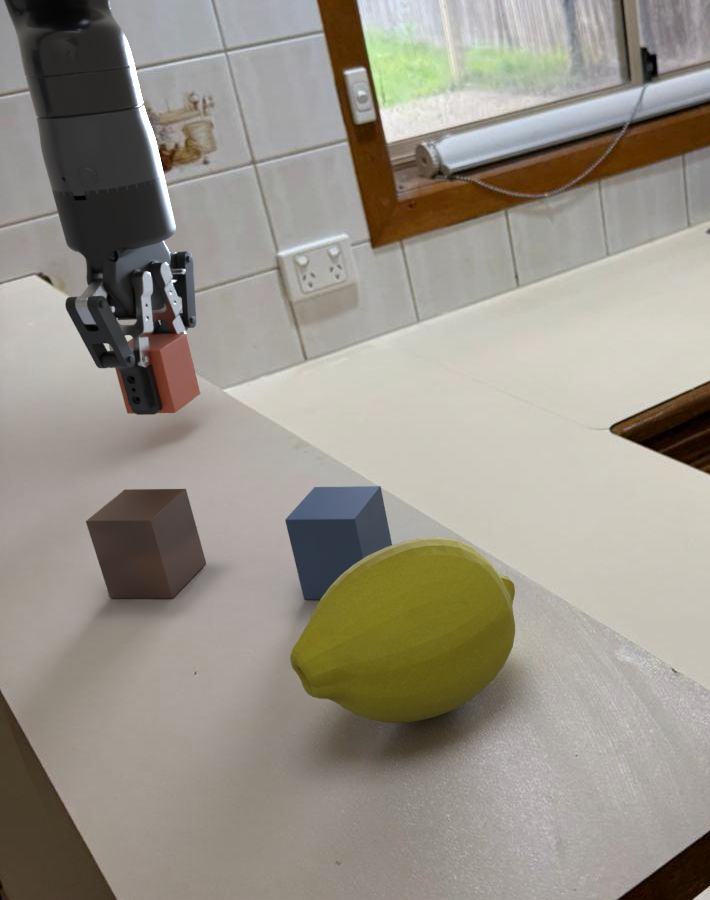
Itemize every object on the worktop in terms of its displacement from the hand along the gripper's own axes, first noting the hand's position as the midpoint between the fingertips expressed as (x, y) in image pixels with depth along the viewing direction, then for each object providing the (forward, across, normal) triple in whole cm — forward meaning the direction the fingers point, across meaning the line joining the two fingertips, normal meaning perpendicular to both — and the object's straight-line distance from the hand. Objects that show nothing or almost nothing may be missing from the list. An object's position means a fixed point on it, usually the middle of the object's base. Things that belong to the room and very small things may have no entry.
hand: (163, 400), depth 88 cm
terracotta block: (0, 0, 0) cm, 0 cm away
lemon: (+3, +33, +31) cm, 46 cm away
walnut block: (+3, +22, +11) cm, 25 cm away
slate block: (+3, +22, +23) cm, 32 cm away
